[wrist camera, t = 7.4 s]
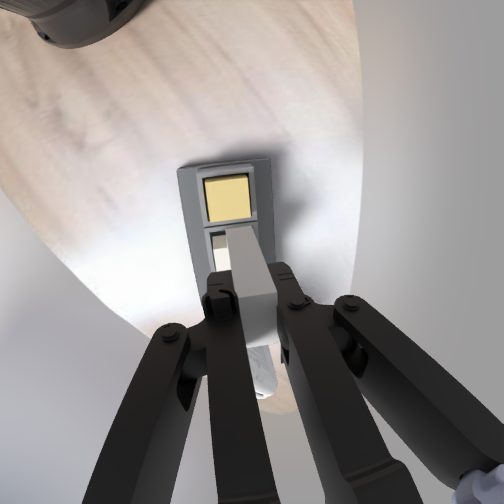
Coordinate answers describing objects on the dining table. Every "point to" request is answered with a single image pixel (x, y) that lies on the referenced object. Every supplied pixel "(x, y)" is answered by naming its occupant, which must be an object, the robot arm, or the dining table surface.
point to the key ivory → (221, 253)
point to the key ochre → (228, 197)
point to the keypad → (204, 230)
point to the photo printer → (262, 371)
